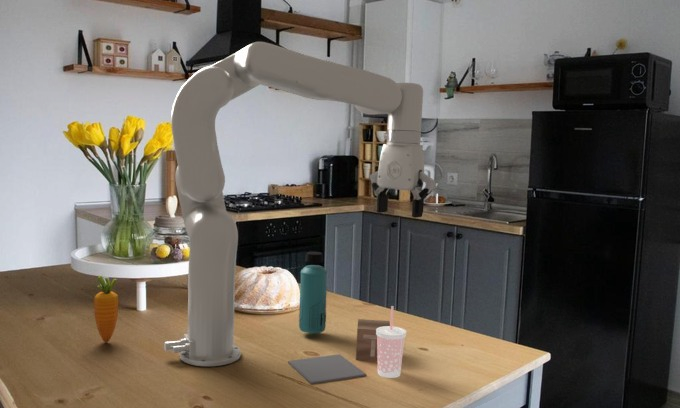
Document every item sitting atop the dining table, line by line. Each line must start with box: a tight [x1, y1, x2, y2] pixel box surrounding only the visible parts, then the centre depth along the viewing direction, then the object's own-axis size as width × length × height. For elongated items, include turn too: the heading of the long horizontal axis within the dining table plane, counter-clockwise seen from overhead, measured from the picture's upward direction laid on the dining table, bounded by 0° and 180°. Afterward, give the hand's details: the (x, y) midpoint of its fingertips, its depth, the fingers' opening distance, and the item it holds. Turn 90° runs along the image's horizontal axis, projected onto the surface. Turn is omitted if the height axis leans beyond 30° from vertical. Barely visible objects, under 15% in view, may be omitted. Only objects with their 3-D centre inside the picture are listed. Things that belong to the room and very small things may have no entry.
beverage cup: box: [376, 305, 407, 379], centre depth 129 cm, size 6×6×14 cm
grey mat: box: [287, 353, 367, 385], centre depth 130 cm, size 12×12×1 cm
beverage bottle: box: [298, 251, 328, 334], centre depth 151 cm, size 6×7×20 cm
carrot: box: [93, 275, 119, 344], centre depth 140 cm, size 5×5×15 cm
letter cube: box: [355, 318, 391, 362], centre depth 139 cm, size 7×7×7 cm
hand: (399, 214), depth 145 cm, fingers open, 9 cm apart
